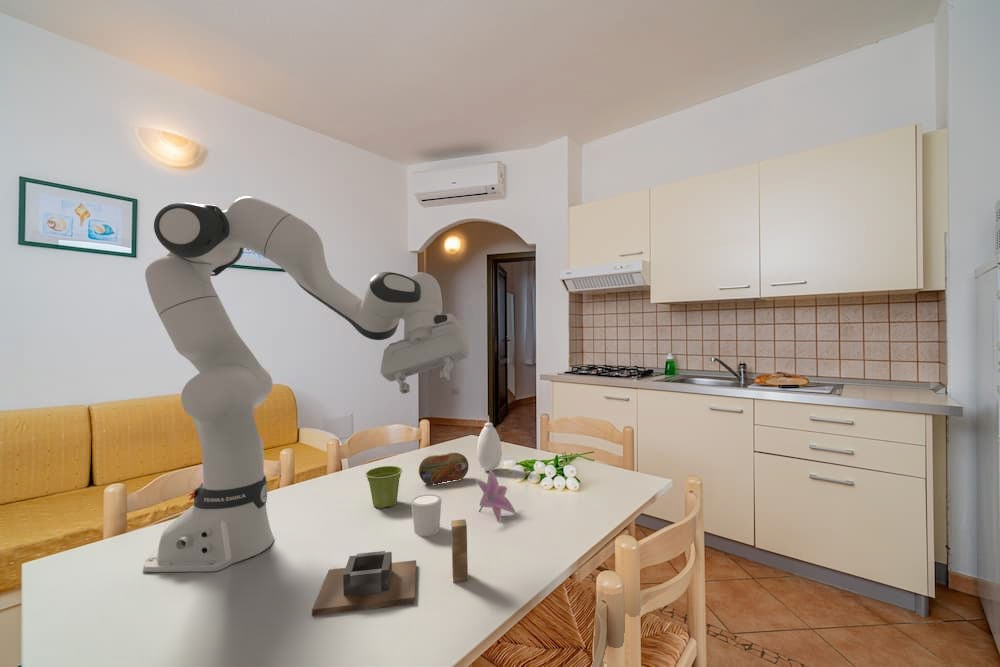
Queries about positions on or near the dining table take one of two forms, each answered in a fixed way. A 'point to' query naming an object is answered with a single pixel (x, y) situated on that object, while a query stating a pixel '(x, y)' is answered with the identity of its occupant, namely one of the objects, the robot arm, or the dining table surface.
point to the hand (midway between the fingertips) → (424, 385)
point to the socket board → (367, 584)
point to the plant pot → (384, 485)
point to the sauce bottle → (489, 447)
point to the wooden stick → (459, 550)
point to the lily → (494, 496)
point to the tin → (443, 468)
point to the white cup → (426, 514)
